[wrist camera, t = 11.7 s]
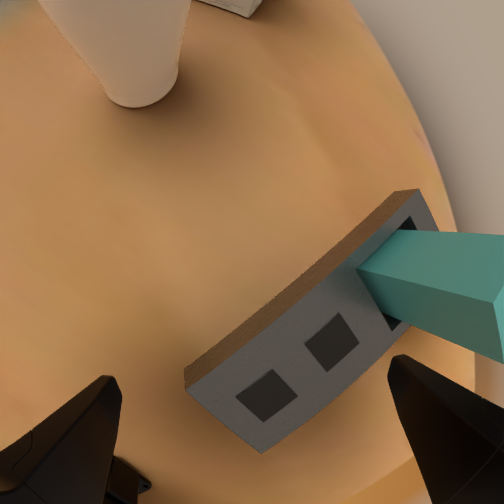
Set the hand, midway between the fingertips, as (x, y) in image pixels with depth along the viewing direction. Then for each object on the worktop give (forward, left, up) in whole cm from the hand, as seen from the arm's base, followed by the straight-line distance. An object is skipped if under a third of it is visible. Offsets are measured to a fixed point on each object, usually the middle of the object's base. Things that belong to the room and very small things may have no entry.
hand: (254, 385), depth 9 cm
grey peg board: (+6, -7, -12) cm, 14 cm away
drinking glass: (+5, +15, -12) cm, 20 cm away
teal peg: (+11, -7, -12) cm, 17 cm away
